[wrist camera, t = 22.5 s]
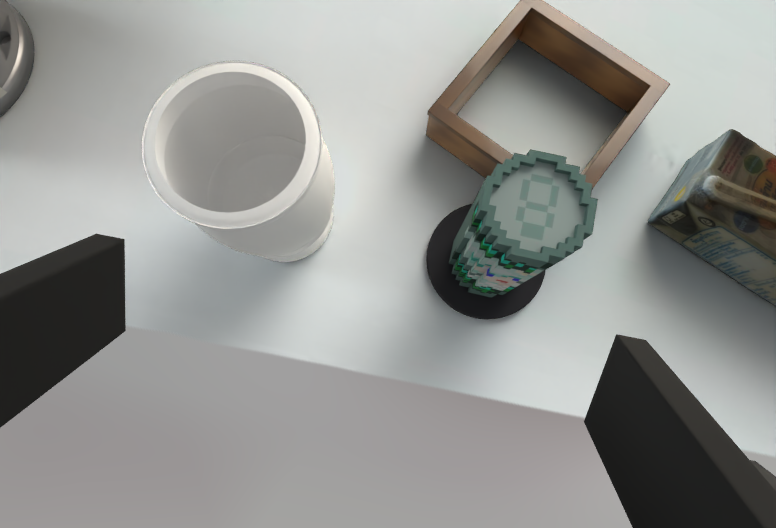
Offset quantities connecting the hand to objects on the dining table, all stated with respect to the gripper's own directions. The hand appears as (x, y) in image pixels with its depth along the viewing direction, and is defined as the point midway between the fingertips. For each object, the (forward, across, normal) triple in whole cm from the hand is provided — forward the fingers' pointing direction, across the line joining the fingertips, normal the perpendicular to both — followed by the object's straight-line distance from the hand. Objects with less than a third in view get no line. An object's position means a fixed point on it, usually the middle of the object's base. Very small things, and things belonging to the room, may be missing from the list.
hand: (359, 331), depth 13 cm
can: (+28, +8, -6) cm, 30 cm away
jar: (+29, -10, -6) cm, 32 cm away
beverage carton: (+31, +31, -2) cm, 44 cm away
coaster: (+29, +8, -6) cm, 30 cm away
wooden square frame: (+35, +10, +5) cm, 37 cm away
